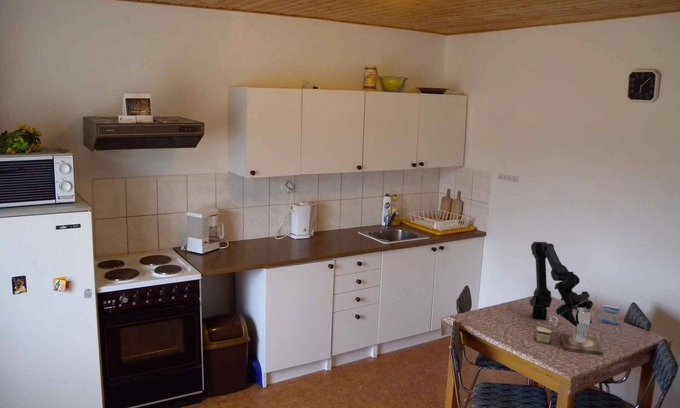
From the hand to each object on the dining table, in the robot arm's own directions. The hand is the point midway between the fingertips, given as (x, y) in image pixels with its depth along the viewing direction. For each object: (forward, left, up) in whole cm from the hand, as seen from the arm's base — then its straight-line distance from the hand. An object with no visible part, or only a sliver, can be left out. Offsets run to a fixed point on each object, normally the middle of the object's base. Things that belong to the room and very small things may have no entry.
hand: (583, 324), depth 257 cm
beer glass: (-1, +1, -9) cm, 9 cm away
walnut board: (0, 0, -10) cm, 10 cm away
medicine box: (+20, +36, -10) cm, 43 cm away
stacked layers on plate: (-17, +1, -11) cm, 20 cm away
